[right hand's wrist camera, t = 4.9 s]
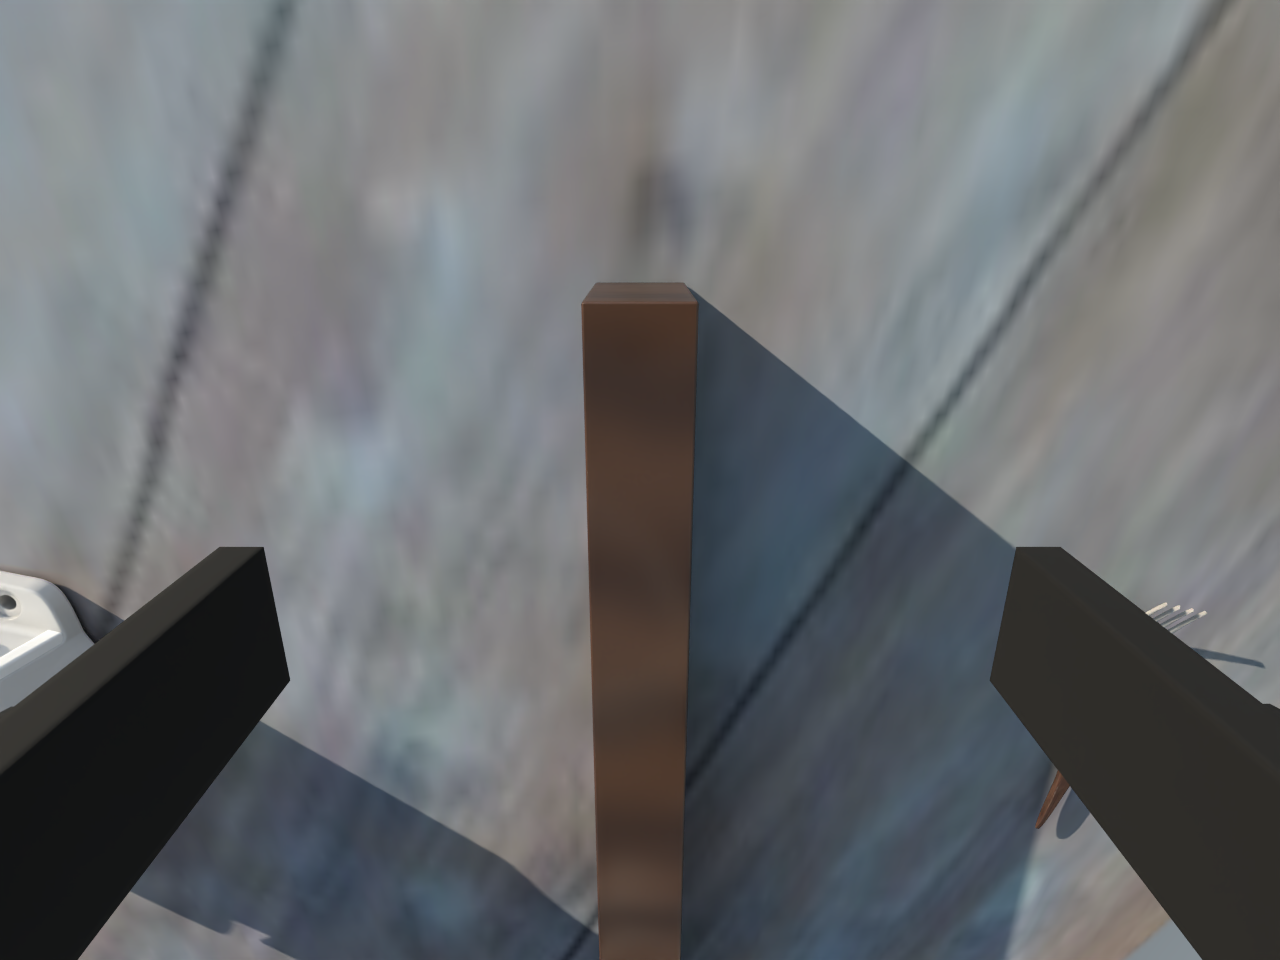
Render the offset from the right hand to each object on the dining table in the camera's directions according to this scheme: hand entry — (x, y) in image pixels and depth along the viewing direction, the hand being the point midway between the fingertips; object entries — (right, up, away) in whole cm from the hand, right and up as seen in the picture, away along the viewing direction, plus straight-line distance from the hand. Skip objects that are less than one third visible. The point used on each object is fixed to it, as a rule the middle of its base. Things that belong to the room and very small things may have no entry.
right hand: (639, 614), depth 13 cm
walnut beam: (0, -10, +27) cm, 29 cm away
